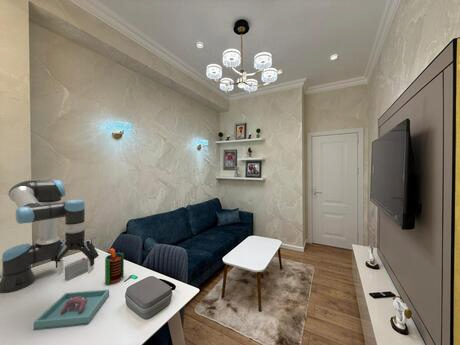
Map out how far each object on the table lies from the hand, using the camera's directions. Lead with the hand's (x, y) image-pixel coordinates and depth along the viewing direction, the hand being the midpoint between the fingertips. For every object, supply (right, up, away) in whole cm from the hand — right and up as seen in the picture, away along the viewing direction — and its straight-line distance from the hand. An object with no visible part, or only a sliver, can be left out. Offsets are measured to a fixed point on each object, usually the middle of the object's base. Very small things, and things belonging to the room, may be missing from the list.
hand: (75, 273), depth 95 cm
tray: (0, -19, 0) cm, 19 cm away
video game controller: (0, -19, -1) cm, 19 cm away
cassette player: (-24, -19, +33) cm, 45 cm away
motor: (+3, -19, +26) cm, 32 cm away
